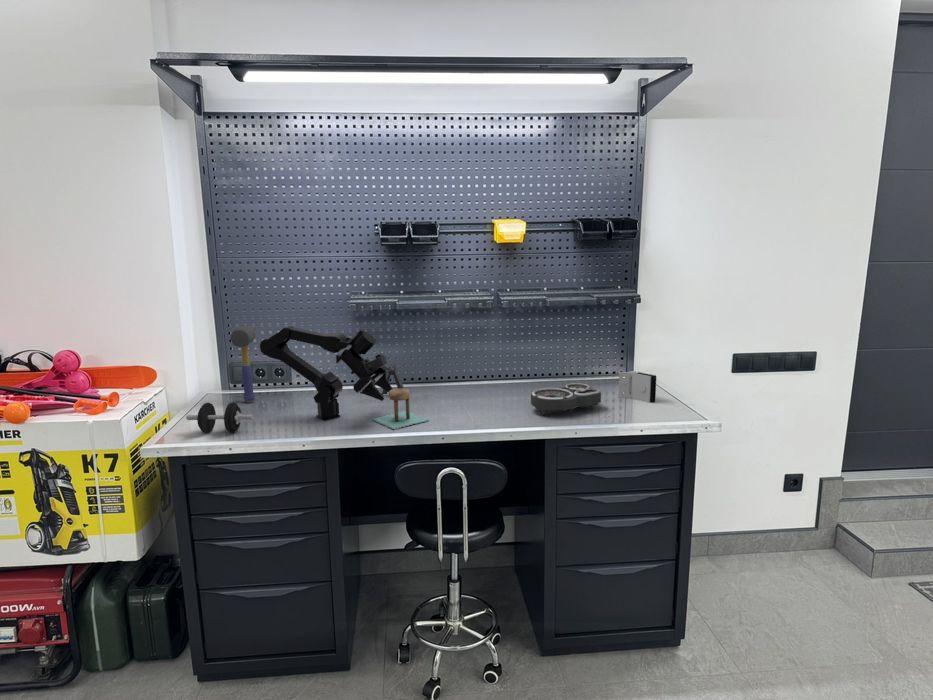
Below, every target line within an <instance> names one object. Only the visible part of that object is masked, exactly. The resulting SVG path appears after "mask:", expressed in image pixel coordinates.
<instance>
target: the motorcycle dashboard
mask: <svg viewBox="0 0 933 700" xmlns="http://www.w3.org/2000/svg"><path fill="white" fill-rule="evenodd" d="M601 399H602V392H601V391H600V390H599V389H598V388H594V387H591V386H590V385H588V384H586V383H579V382H577V383H576V382H572V383H568V384H566V385H565V386H562V387H543V388H538V389H535V390H534V391H532V392H531V394H530V405H531V406H533V407H534V408H535V410H537V411H540V412H541V413H540V414H542V417H545V415H546V414H548V413H550V414H554V413H559V412H563V411H567V410H569V411H570V412H573V410H574V409H576V408H587V407H588V408H589V407H593V406H598V404H600V403H601V402H602V400H601Z"/></svg>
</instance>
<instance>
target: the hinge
mask: <svg viewBox="0 0 933 700" xmlns="http://www.w3.org/2000/svg"><path fill="white" fill-rule="evenodd" d="M623 377H624V378H623ZM656 387H657V375H656V374H652V373H645V372H643V371H638V372H637V371H635V370H634V371H633V370H631V371H627V372H626V371H625V372H624V371H619V372H618V393H617V394H618V395H617V397H618V399H633V400H636V401H641V402H645V403H649V404H650V403H651V404H653V403H656V397H657V395H656V393H657V392H656V391H657V388H656Z"/></svg>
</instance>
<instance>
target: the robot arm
mask: <svg viewBox="0 0 933 700" xmlns="http://www.w3.org/2000/svg"><path fill="white" fill-rule="evenodd" d="M376 339H377V338H375V336H373V335H372V334H370V333H369V332H367V331H365V330H364V329H360V330H359V331H358V332H357V334H356V335H355V336H354V337H353V338H352V337H349V336H348V337H347V335H346V334H343V333H321V332H316V331H311V330H309V329H308V330H306V329H303V328H298V327H295V326H292V325H291V326H290V325H289V326H286V327H283V328H282V329H281V330H280V331H278V332H277V333H275V334H273V335H272V336H270V337H267V338H265V339H262V340H261V341H260V342H259V348H260V352H261V354H263V355H265V356H266V357H268V358H271V359H273V360H278V361H281V362H282V363H284V364H285V365H286V366H288V367H289V368H290V369H292V370H294V372H297V374H299V375H301V376H302V377H303V378H305V379H306V380H307V381H308V382H311V383H312V384H313V387H314V388H315V390H316V392H317V393H316V394H315V395H314V396H313V399H314V402H315V403H316V405H317V414H316V416H315V417H317V418H318V419H320V420H322V421H326V420H327V421H328V420H331V419H335V418H336V419H337V418H341V415H340V404H339V402H338V399H337V398H339V395H340V393H341V392H342V391H343V387H344V386H343V382H342V381H341V380H340V377H339V376H336V375H335V374H334V373H333V372H331V371H328V372H327V373H322V372H321V371H320V370H318V369H317V368H316V367H314V366H313V365H312V364H310V363H308V362H307V361H306V360H304V359H303V358H301V357H300V356H298V355H297V354H295V353H294V352H293V351H292V350H291V349H290V348H289V345H288V344H287V343H289V342H290V341H291V340H292V341H297V342H301V343H305V344H310V345H313V346H318V347H319V348H321V349H323V350H324V351H327V352H330V353H333V354H336V353H339V352H341V353H339V354H336V356H335V363H336V364H339V363H341V362H343V363H344V364H345V365H346V366H347V367H348V368H349V369H350V370H351V372H350V373H351V374H352V375H353V376H354V375H355V376H356V377H357V378H358V380H357V381H356V382H355V383H354V384H353V385H352V386H353V390H354V392H356V393H357V394H360V395H365V396H368V397H371V398H374V399H375V400H379V401H381V402H383V401H384V400H385V398H384V397H385V396H382V393H381V392H380V390H379V389H378V388H377V387H376V386H378V387H379V388H380V389H382V390H383V389H384V390H386V391H387V392H389V391H390V390H392V389H393V387H392V386H391V383H390V382H389V381H388V379H387V376H388V367H386V365H387V364H388V363H387V356H385V355H384V354H382V353H379V354H376V355H375V358H374V359H372V360H370V359H368V358H366V359H365V358H364V357H363V356H365V355H367V353H369V351H370V350H371V349H372V348H373V347H374V346H375V345H376V344H377V340H376ZM348 347H349V349H347V348H348ZM362 355H363V356H362Z"/></svg>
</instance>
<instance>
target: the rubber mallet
mask: <svg viewBox="0 0 933 700" xmlns="http://www.w3.org/2000/svg"><path fill="white" fill-rule="evenodd" d="M256 335H257V334H256V329H255V328H254V327H253V326H252V325H249V324H245V325H240V326H238V327H237V328H235V329H234V330H233V331H232V332H231V334H230V342H231V343H232V345H234V346H235V347H237V348H241V349H240V350H241V359H242V366H241V379H242V383H243V392H244V393H243V400H244V402H246V403H247V404H248V403H250V404H251V403H252V402H254V401H255V394H254V388H253V387H254V386H253V376H254V375H253V371H252V366H251V363H250V355H249V354H250V353H249V345H250V344H251V343H252V342H253V341H254V340H255V339H256Z"/></svg>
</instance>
